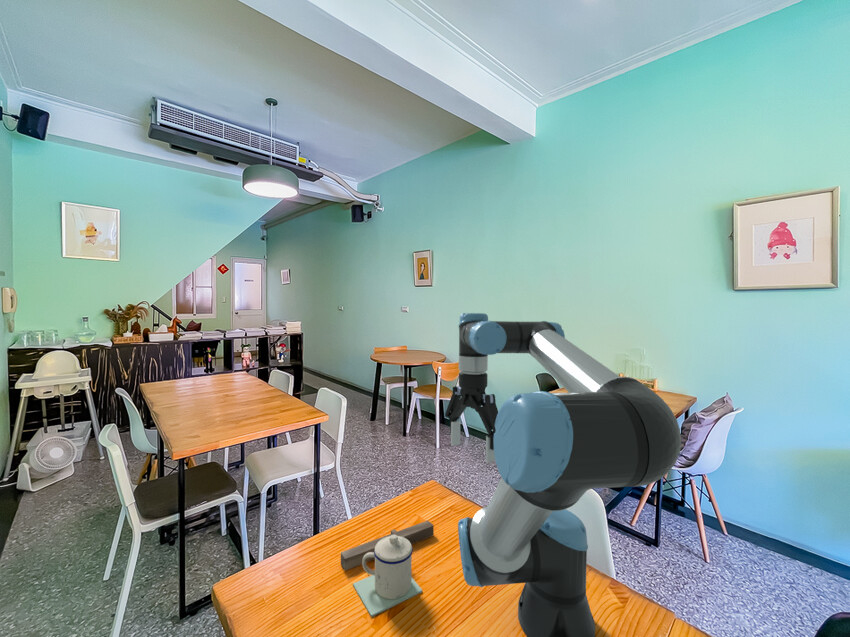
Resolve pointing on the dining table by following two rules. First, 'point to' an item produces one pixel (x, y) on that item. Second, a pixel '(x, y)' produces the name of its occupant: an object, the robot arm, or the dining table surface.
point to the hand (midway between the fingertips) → (472, 452)
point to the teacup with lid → (391, 566)
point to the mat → (377, 602)
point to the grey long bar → (412, 534)
